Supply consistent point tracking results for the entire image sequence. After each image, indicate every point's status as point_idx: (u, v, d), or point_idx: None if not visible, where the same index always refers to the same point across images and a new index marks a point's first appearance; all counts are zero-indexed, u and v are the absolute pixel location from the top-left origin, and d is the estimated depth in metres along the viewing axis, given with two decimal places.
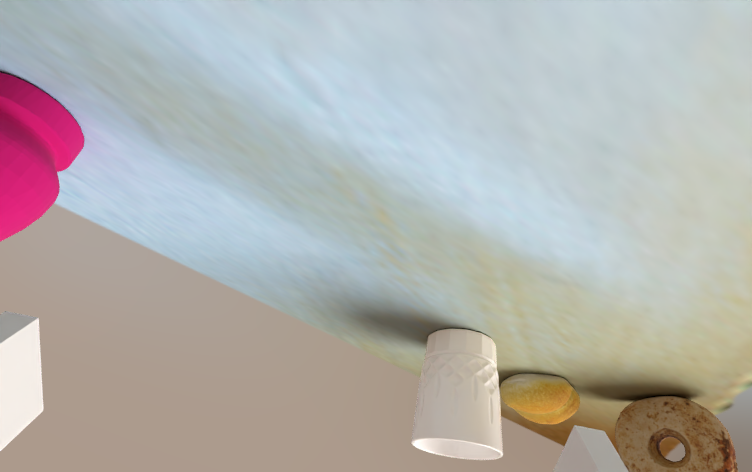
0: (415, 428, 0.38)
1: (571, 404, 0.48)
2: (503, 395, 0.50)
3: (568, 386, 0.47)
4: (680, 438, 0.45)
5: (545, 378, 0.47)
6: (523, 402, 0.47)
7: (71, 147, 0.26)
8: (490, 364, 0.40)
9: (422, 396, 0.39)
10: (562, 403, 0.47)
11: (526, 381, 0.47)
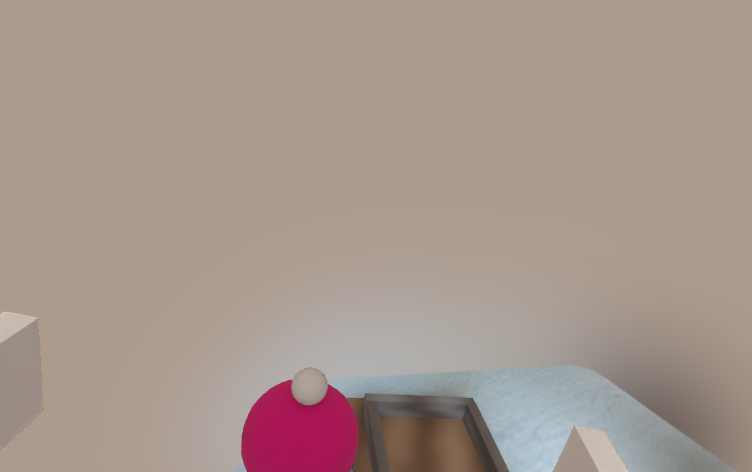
0: None
1: None
2: None
3: None
4: None
5: None
6: None
7: None
8: None
9: None
10: None
11: None
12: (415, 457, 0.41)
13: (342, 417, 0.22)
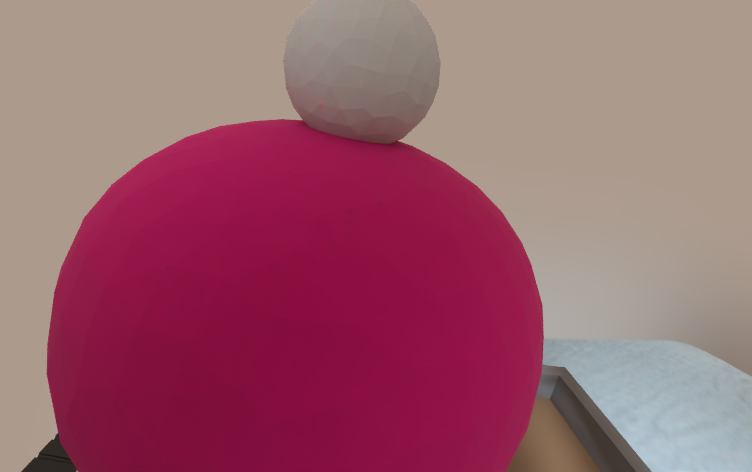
0: None
1: None
2: None
3: None
4: None
5: None
6: None
7: None
8: None
9: None
10: None
11: None
12: None
13: (496, 214, 0.05)
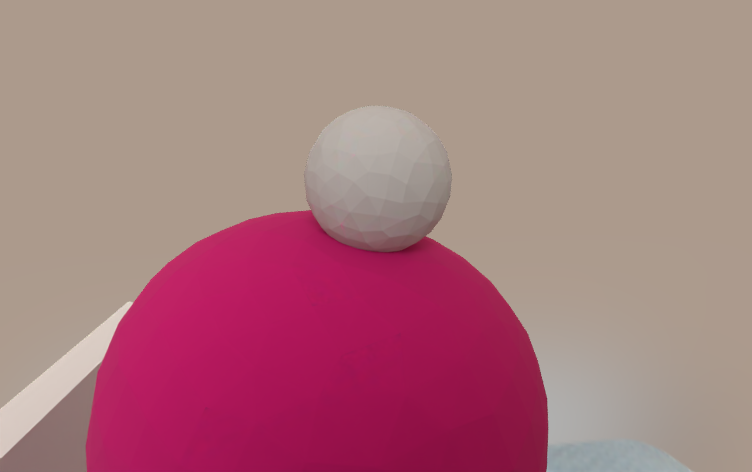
0: None
1: None
2: None
3: None
4: None
5: None
6: None
7: None
8: None
9: None
10: None
11: None
12: None
13: (504, 314, 0.05)
